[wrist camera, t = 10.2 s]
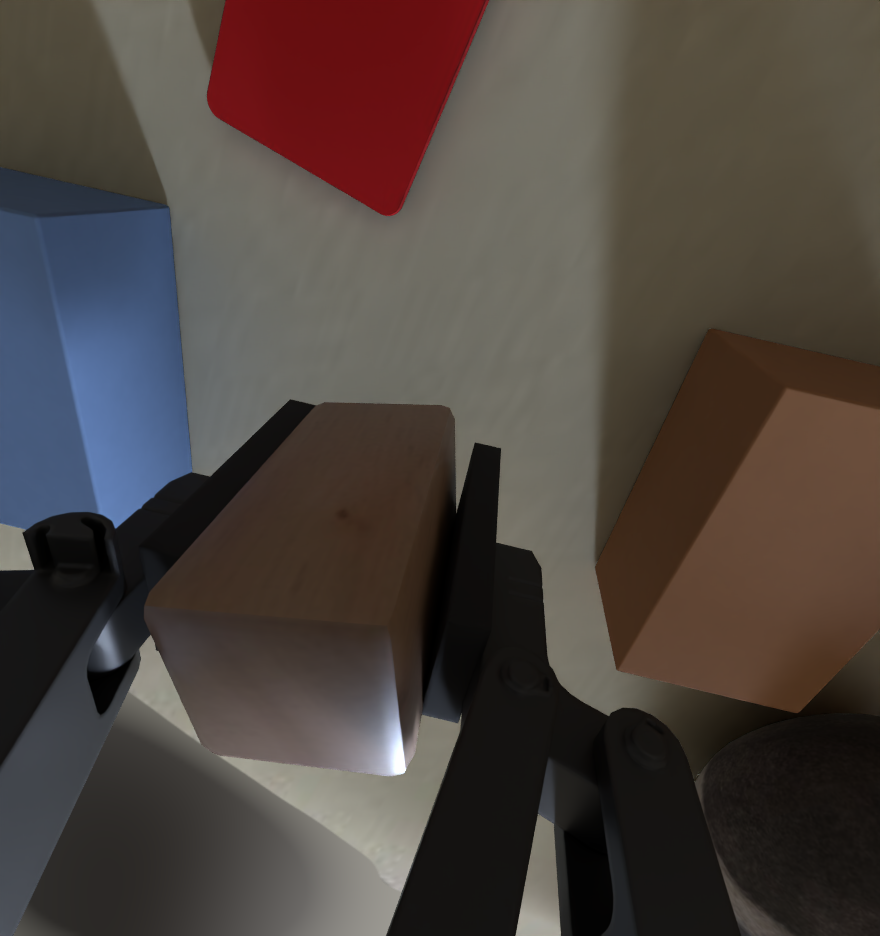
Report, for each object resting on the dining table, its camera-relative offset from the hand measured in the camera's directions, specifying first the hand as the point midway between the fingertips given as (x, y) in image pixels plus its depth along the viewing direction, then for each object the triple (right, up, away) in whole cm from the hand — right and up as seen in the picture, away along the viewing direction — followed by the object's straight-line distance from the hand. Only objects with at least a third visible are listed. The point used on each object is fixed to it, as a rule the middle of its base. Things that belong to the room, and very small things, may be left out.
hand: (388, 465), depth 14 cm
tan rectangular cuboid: (+12, -1, +3) cm, 12 cm away
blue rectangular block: (-11, +5, +3) cm, 12 cm away
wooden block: (0, 0, 0) cm, 1 cm away
